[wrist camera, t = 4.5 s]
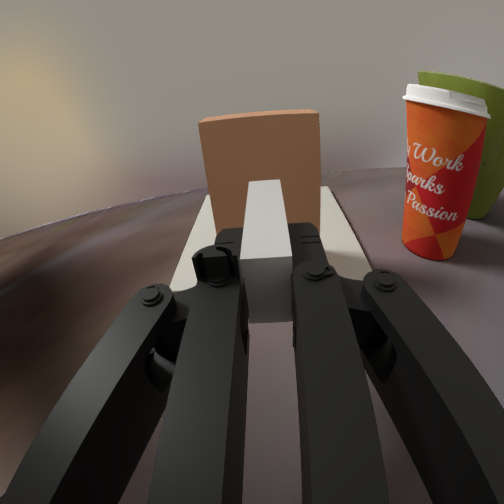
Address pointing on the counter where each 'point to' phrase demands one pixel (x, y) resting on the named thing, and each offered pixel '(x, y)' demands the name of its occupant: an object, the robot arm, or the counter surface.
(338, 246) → the mat
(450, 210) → the paper cup
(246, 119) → the card box
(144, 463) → the counter surface
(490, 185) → the flower pot
